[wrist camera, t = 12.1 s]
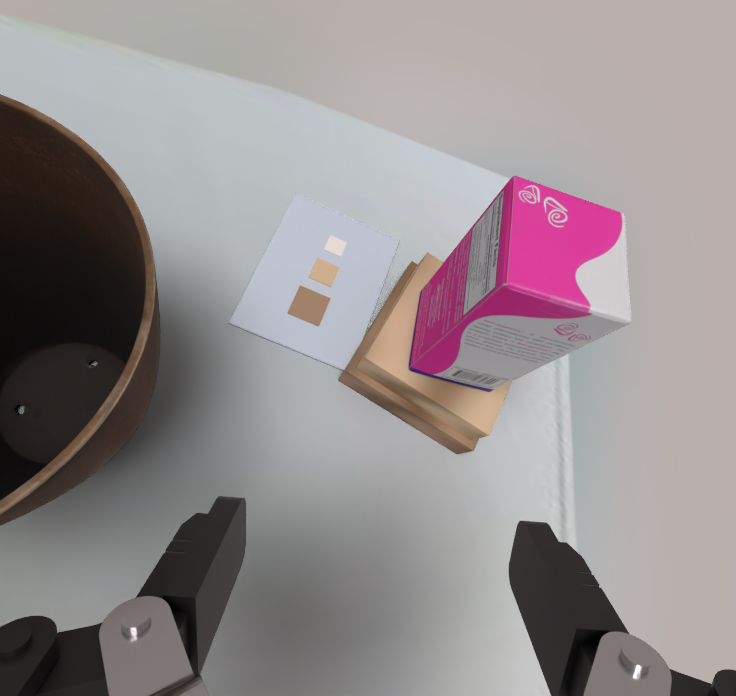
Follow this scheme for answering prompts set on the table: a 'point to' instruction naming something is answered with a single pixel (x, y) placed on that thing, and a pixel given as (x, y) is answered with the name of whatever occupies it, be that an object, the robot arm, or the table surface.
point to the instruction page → (317, 283)
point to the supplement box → (523, 288)
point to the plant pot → (68, 311)
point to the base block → (413, 390)
